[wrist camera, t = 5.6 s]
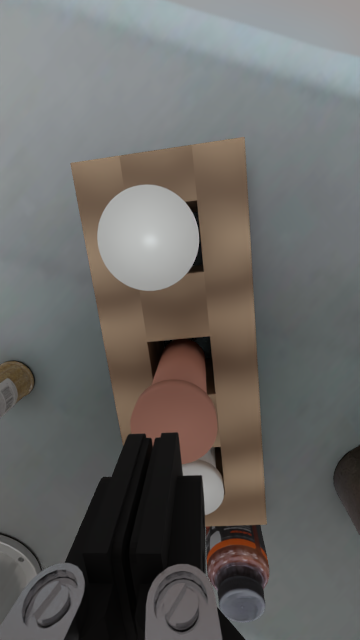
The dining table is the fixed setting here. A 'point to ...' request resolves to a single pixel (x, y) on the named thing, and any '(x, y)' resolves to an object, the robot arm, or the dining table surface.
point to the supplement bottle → (238, 569)
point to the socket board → (188, 304)
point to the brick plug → (178, 401)
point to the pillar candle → (349, 484)
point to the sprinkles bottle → (13, 384)
